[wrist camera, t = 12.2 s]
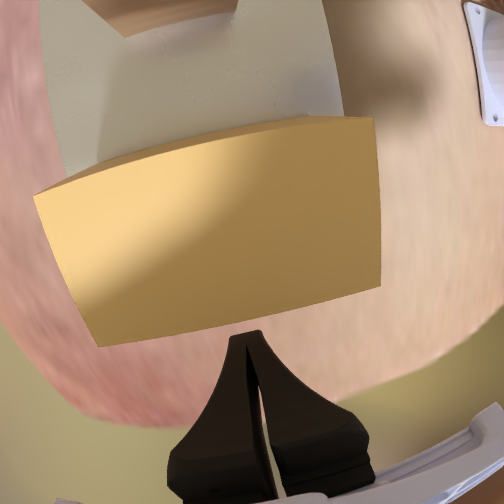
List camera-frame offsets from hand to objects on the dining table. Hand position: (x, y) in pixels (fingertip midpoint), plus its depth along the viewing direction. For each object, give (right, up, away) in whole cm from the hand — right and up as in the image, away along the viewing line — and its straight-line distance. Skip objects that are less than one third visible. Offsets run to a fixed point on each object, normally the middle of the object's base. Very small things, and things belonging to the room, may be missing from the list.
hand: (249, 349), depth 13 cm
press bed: (-3, +15, -3) cm, 16 cm away
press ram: (-1, +6, -1) cm, 7 cm away
